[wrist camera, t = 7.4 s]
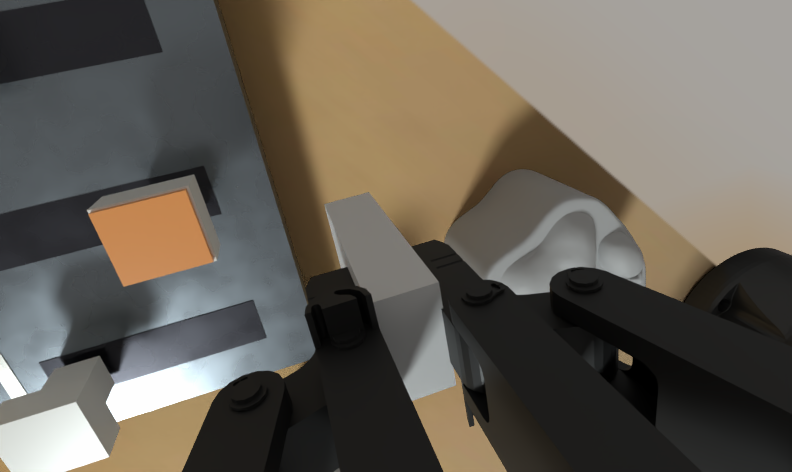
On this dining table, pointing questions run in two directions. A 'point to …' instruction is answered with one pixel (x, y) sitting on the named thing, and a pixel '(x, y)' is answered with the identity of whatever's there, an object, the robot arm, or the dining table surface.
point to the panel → (124, 170)
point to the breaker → (60, 421)
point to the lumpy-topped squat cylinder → (542, 234)
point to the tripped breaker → (156, 229)
